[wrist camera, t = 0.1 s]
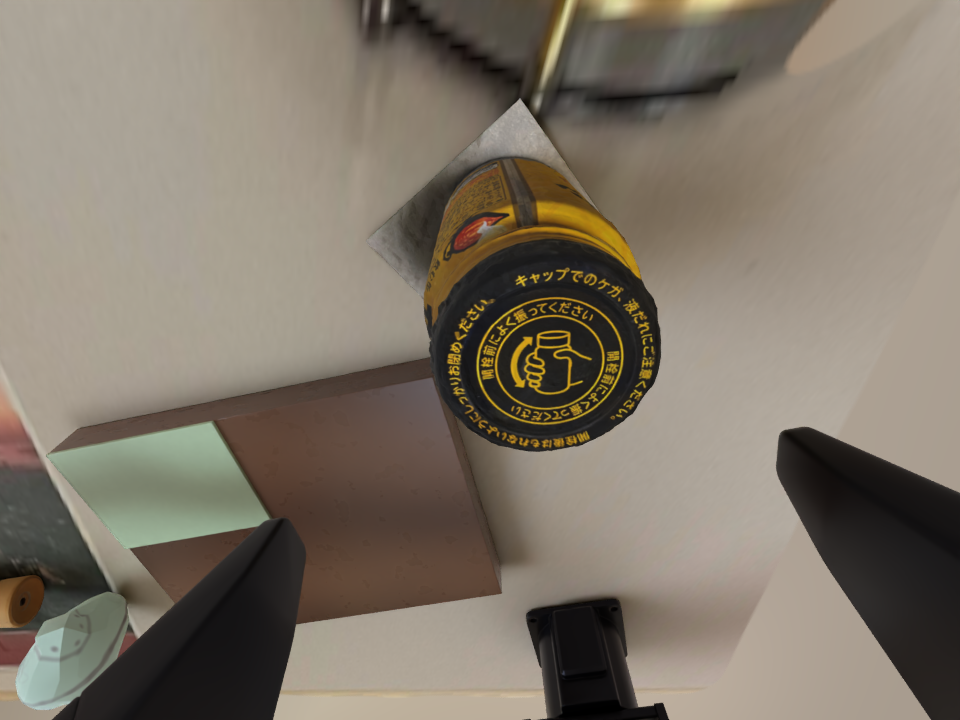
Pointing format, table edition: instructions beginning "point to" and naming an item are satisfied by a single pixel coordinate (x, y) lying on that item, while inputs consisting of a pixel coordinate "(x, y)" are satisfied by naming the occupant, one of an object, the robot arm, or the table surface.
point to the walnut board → (300, 489)
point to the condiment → (525, 293)
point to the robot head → (72, 652)
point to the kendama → (20, 600)
